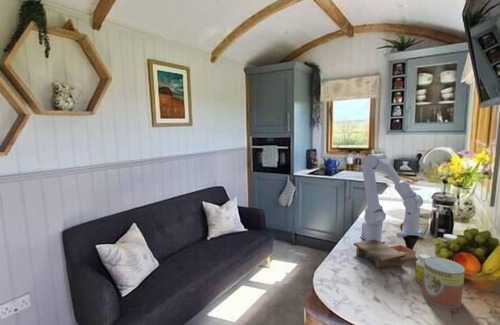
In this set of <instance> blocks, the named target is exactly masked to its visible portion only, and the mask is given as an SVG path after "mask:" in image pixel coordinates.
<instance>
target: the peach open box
mask: <svg viewBox="0 0 500 325" xmlns="http://www.w3.org/2000/svg"><path fill="white" fill-rule="evenodd" d="M388 246H389V247H391V248H393V249H395V250H397V251H399V252H401V253H403V254H405V257H404V258H401V261H405V260H409V259H415V258H416V255H417V254H416V253H417V251H416V250H414V249H413V250H412V249H410V248H408V247H406V245H403V244H402V243H399V244H394V245H388Z"/></svg>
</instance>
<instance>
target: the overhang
mask: <svg viewBox="0 0 500 325" xmlns="http://www.w3.org/2000/svg"><path fill="white" fill-rule="evenodd" d="M353 246H355V247H356V250H355V252H356V253H355V255H356V256H357V257H359V256H360V257H365V256H366V258H367V259H369V260H370V261H371V262H374V263H375V265H374V266H375V268H376V269H377V270H380V269H384V268H389V267H393V266H398V265H401V263H402V260H401V258H404V257H405V254H403V253H401V252H399V251H397V250H395V249H393V248H391V247H389V246H390V245H387V244H385V243H384V242H382V243H381V242H379V241H377V240H375V239H374V240H368V241H366V240H363V241H359V242H357V241H356V242H353Z"/></svg>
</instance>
